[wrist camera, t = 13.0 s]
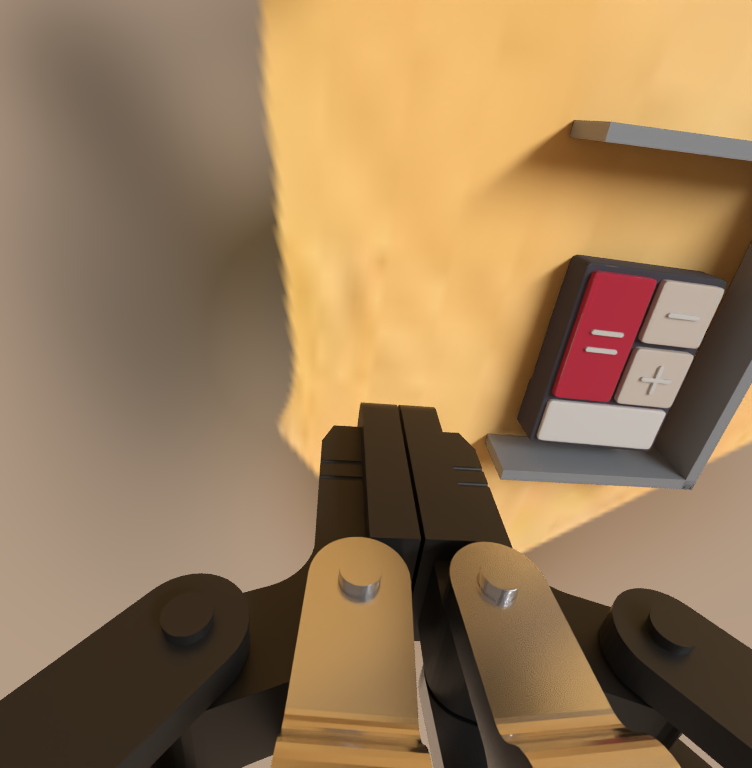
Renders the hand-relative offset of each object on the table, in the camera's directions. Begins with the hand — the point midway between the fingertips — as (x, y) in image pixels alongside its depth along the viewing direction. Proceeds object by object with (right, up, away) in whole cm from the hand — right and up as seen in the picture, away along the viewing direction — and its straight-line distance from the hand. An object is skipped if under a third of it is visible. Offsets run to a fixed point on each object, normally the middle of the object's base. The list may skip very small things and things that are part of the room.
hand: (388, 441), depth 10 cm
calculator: (+19, +4, +31) cm, 36 cm away
